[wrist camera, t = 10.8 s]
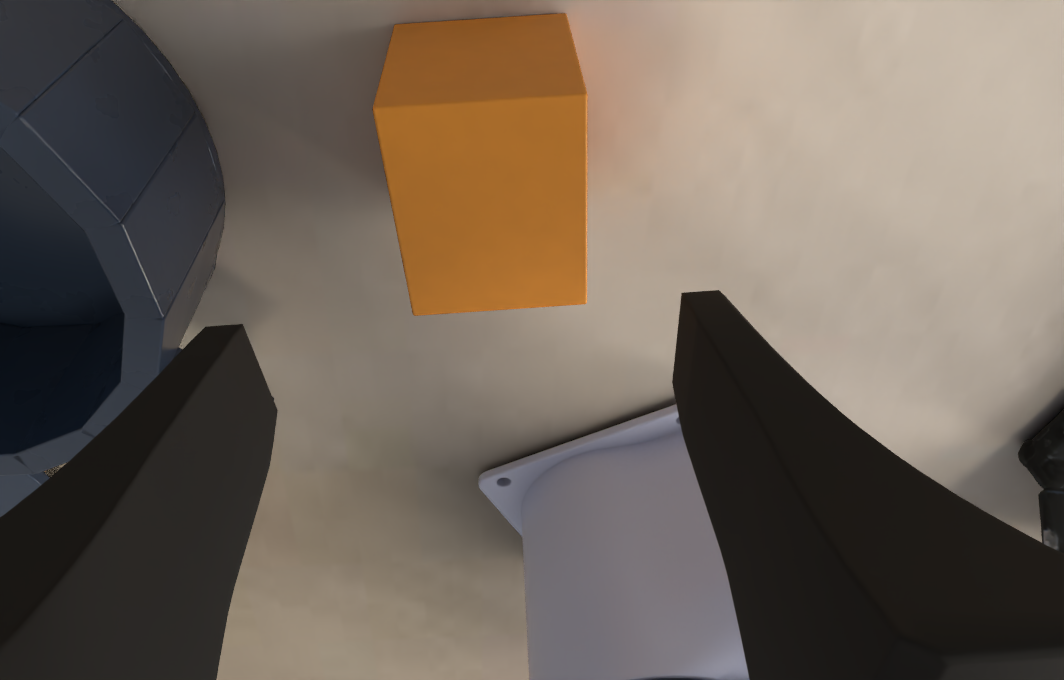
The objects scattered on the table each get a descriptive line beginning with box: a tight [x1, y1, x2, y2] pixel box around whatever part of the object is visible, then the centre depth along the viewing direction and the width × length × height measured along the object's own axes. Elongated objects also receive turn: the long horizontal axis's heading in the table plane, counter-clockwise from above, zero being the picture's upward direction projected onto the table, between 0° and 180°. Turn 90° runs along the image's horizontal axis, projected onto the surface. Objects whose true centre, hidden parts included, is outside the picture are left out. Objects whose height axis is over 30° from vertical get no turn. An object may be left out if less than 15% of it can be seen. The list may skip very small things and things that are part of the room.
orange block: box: [372, 13, 588, 316], centre depth 17 cm, size 4×5×5 cm
